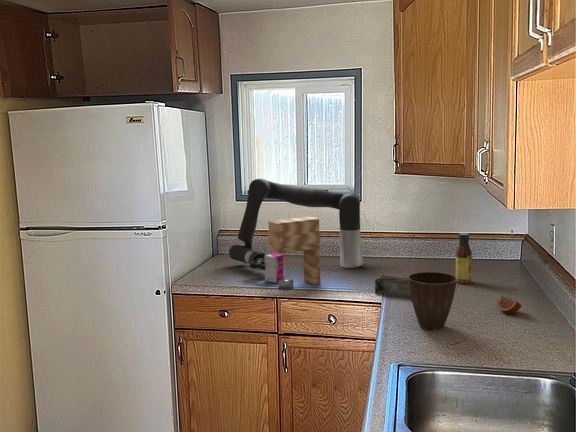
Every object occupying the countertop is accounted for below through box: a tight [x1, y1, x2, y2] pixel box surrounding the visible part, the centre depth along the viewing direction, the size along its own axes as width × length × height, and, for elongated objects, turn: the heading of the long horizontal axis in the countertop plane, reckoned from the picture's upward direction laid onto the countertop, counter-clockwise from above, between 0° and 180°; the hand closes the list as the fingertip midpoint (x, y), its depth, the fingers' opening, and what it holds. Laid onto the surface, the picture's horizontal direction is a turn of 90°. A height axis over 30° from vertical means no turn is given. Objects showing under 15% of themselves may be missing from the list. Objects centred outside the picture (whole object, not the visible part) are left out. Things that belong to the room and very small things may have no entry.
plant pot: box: [407, 271, 457, 331], centre depth 187 cm, size 15×15×16 cm
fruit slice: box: [496, 295, 522, 314], centre depth 199 cm, size 8×7×5 cm
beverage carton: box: [374, 275, 411, 299], centre depth 224 cm, size 8×19×7 cm, turn 62°
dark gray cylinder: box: [278, 277, 294, 290], centre depth 239 cm, size 6×6×3 cm
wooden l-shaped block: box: [267, 216, 321, 285], centre depth 239 cm, size 19×8×27 cm, turn 120°
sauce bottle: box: [455, 232, 473, 285], centre depth 237 cm, size 7×6×20 cm
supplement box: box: [264, 252, 284, 285], centre depth 247 cm, size 6×6×12 cm
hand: (273, 266), depth 248 cm, fingers open, 8 cm apart
